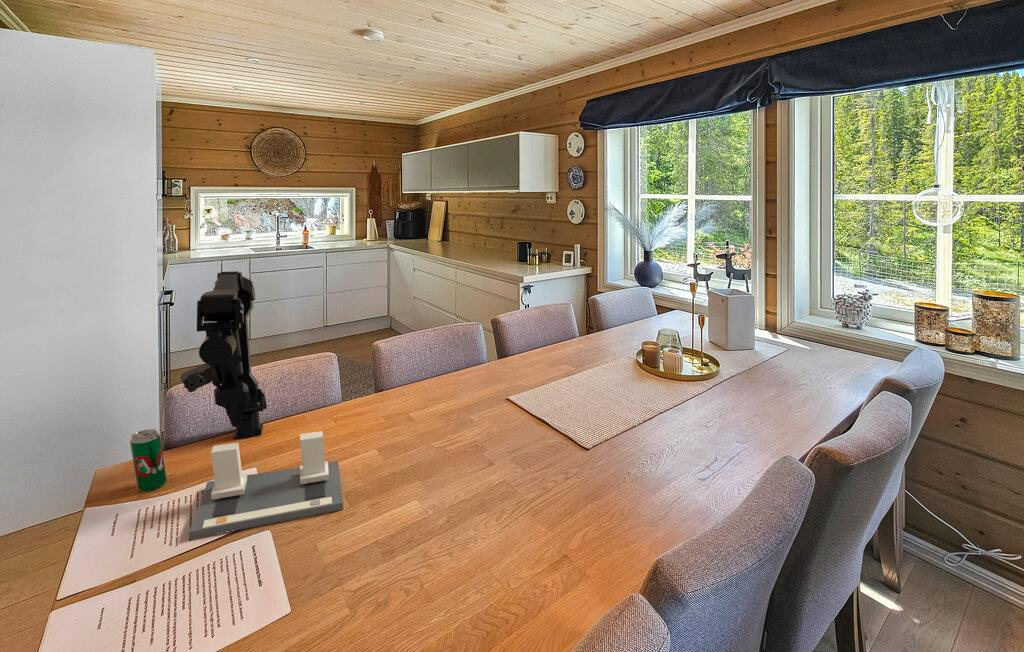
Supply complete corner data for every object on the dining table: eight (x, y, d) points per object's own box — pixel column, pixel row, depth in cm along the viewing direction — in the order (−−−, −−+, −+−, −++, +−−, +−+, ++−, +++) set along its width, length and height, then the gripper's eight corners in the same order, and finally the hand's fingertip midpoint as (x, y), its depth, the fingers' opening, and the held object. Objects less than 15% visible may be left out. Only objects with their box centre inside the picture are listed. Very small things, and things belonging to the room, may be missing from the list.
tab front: (216, 484, 102) (211, 443, 100) (247, 479, 104) (242, 439, 102) (211, 499, 97) (205, 456, 94) (243, 494, 99) (238, 451, 97)
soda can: (159, 477, 108) (151, 426, 105) (172, 483, 106) (164, 431, 103) (133, 488, 104) (123, 435, 101) (146, 495, 101) (137, 441, 99)
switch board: (208, 488, 104) (207, 480, 104) (338, 466, 114) (337, 459, 113) (190, 539, 88) (188, 530, 88) (343, 509, 98) (342, 501, 97)
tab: (300, 470, 108) (297, 431, 106) (328, 466, 110) (325, 427, 108) (300, 484, 102) (296, 443, 100) (329, 479, 104) (326, 439, 102)
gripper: (180, 345, 110) (190, 410, 113) (180, 370, 94) (191, 444, 98) (237, 339, 115) (244, 401, 119) (245, 361, 100) (253, 431, 104)
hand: (233, 418), depth 110 cm, fingers open, 9 cm apart
